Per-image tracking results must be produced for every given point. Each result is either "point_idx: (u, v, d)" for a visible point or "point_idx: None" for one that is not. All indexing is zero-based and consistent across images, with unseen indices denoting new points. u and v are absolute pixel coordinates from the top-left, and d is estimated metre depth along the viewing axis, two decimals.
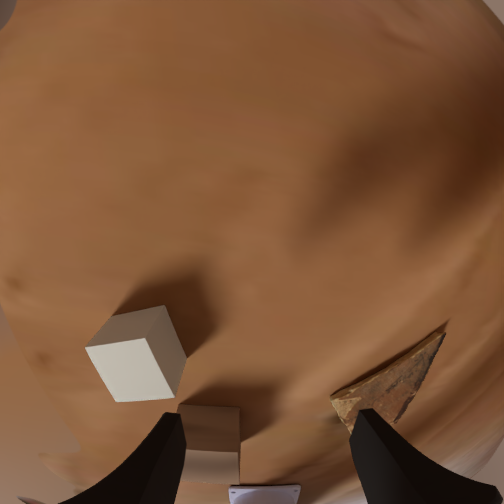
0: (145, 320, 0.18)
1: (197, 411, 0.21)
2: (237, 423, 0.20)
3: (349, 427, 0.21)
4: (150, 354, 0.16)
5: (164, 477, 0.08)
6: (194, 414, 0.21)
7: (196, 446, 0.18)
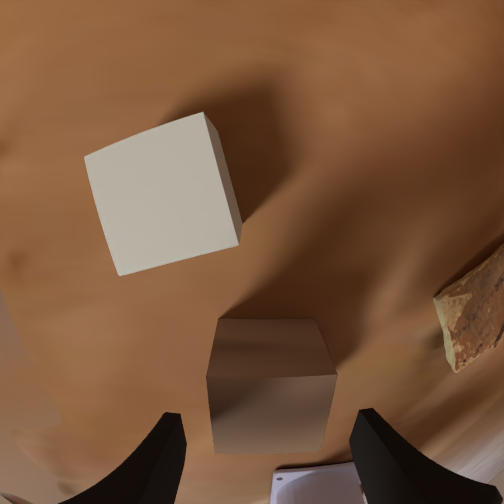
0: None
1: (250, 326, 0.15)
2: (320, 336, 0.13)
3: (455, 347, 0.15)
4: (208, 145, 0.09)
5: (164, 477, 0.08)
6: (246, 329, 0.14)
7: (261, 371, 0.11)
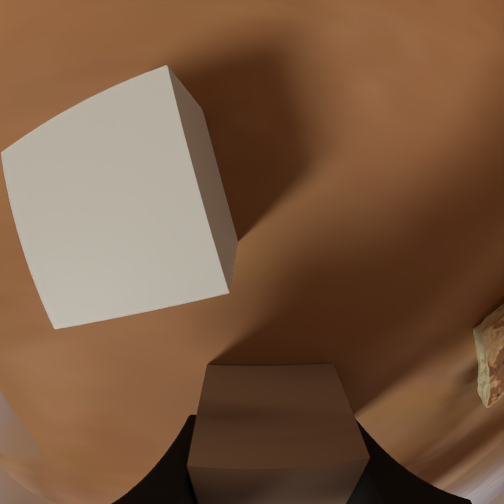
0: None
1: (250, 378, 0.10)
2: (343, 394, 0.09)
3: (491, 383, 0.11)
4: (173, 119, 0.05)
5: None
6: (244, 384, 0.10)
7: (264, 457, 0.07)
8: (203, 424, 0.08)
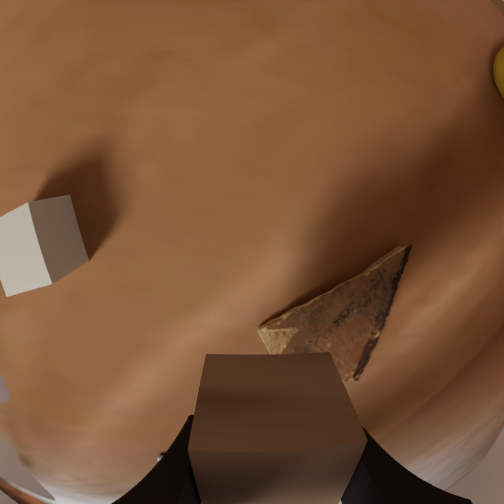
0: None
1: (248, 366, 0.11)
2: (340, 381, 0.10)
3: None
4: (31, 223, 0.12)
5: (194, 481, 0.08)
6: (242, 372, 0.10)
7: (264, 441, 0.07)
8: (203, 410, 0.08)
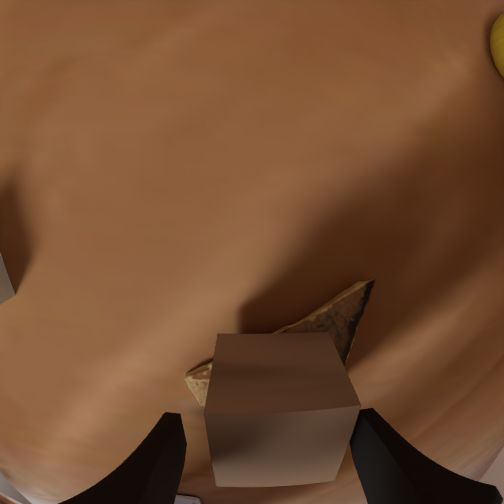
0: None
1: (255, 343, 0.12)
2: (337, 356, 0.11)
3: None
4: None
5: (164, 477, 0.08)
6: (251, 348, 0.12)
7: (270, 403, 0.09)
8: (216, 379, 0.10)
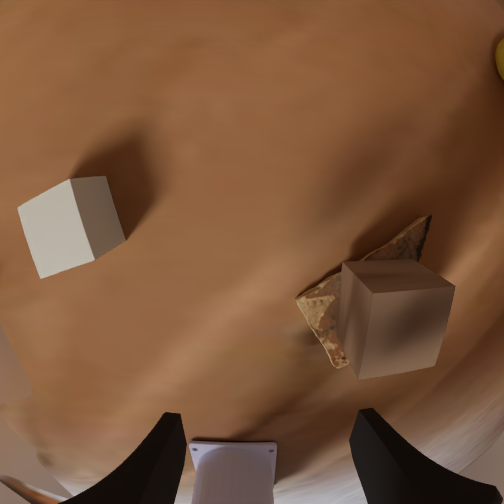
0: None
1: (372, 264, 0.17)
2: (426, 268, 0.16)
3: (325, 344, 0.19)
4: (73, 199, 0.13)
5: (164, 477, 0.08)
6: (371, 266, 0.16)
7: (407, 287, 0.13)
8: (365, 280, 0.14)
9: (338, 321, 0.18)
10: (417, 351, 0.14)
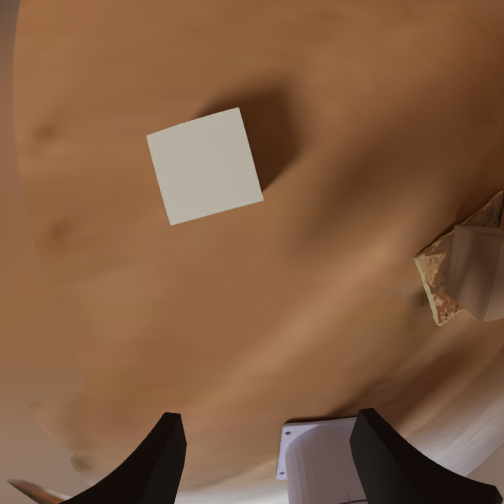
0: None
1: (477, 228, 0.17)
2: None
3: (435, 301, 0.19)
4: (242, 130, 0.13)
5: (164, 477, 0.08)
6: (478, 229, 0.16)
7: None
8: (486, 236, 0.14)
9: (448, 279, 0.18)
10: None
